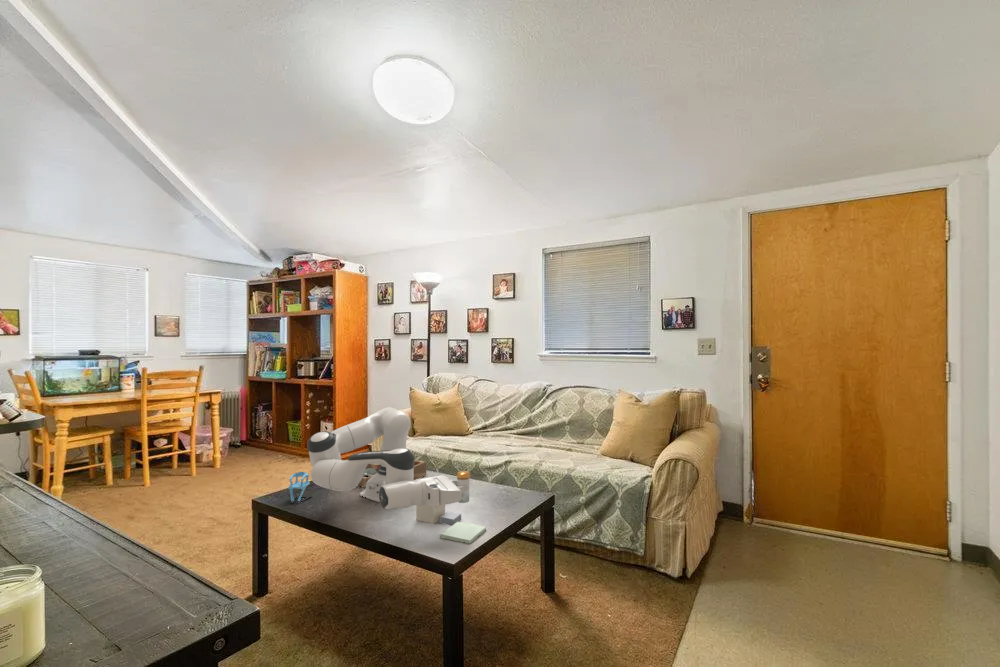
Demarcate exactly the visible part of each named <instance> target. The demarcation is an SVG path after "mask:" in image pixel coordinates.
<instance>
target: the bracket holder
mask: <svg viewBox="0 0 1000 667" xmlns="http://www.w3.org/2000/svg"><path fill="white" fill-rule="evenodd" d="M423 476H424V477H426V476H427V461H423V460H416V459H415V461H414V477H413V480H416V479H419V478H421V477H422V478H424V477H423Z"/></svg>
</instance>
